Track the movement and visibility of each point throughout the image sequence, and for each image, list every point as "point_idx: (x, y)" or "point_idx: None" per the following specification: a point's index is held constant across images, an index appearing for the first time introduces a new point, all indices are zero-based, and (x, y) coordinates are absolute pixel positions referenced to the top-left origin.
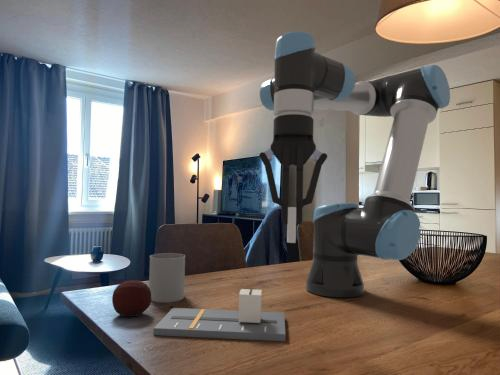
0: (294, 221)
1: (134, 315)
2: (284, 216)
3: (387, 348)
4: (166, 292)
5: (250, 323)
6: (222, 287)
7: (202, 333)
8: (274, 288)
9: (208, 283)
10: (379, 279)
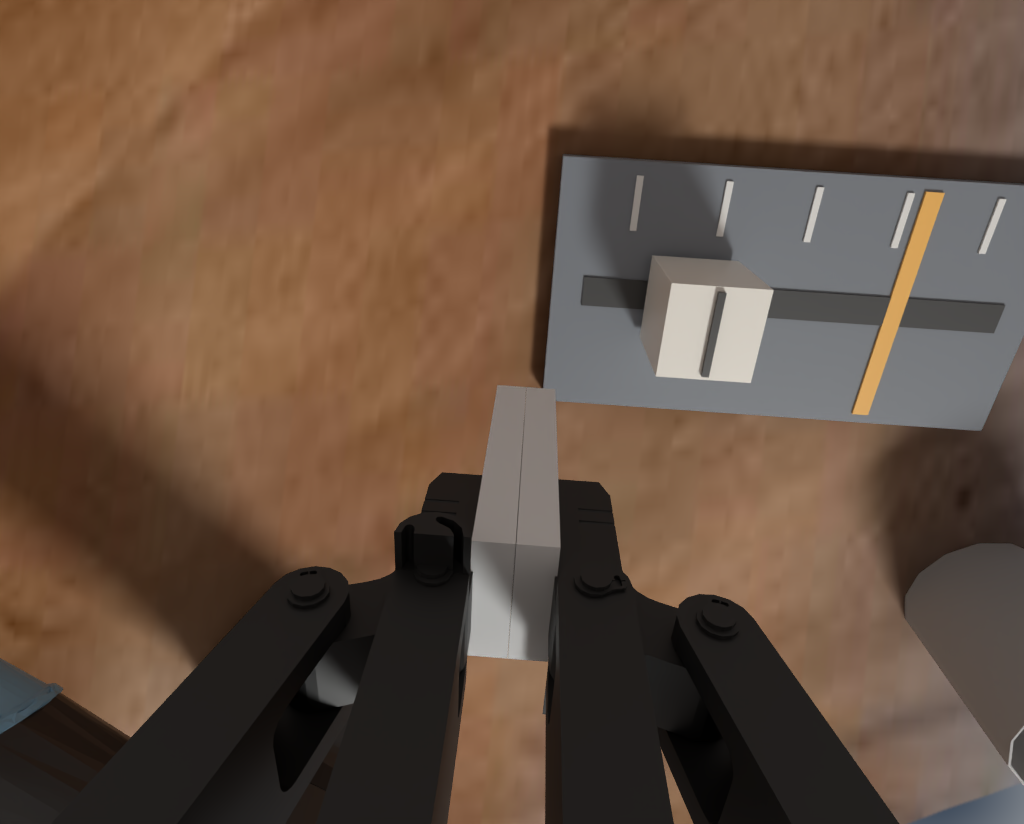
0: (498, 461)
1: None
2: (586, 517)
3: (200, 112)
4: (1005, 568)
5: None
6: None
7: (882, 175)
8: (543, 706)
9: None
10: None
